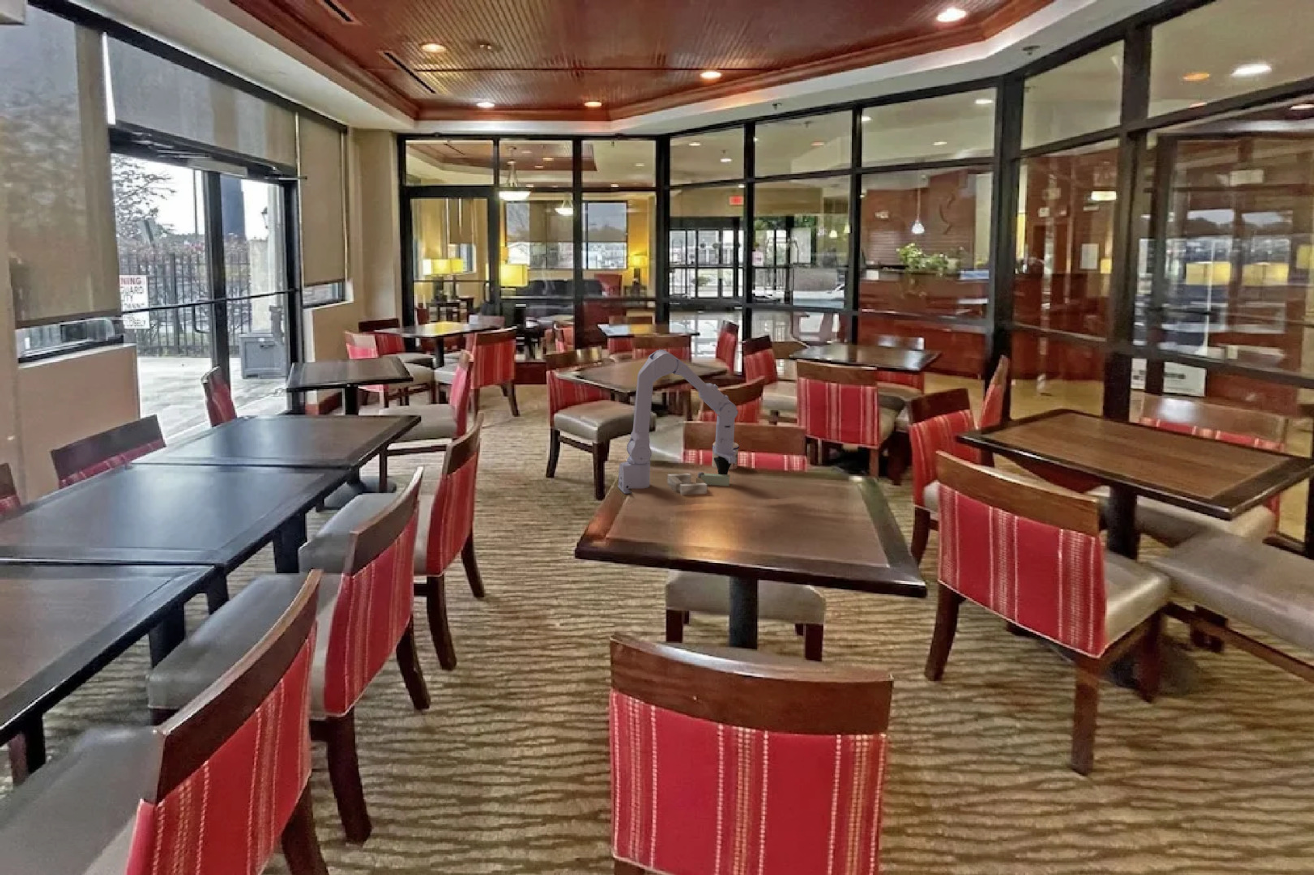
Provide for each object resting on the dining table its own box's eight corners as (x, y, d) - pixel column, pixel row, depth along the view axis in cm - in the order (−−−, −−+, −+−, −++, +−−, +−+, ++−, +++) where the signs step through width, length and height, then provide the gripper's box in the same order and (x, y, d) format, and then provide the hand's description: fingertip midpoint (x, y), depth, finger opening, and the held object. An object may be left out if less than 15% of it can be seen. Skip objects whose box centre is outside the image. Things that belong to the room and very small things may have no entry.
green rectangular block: (729, 485, 282) (729, 475, 281) (697, 484, 283) (698, 473, 282) (729, 483, 284) (729, 473, 283) (697, 482, 285) (698, 471, 284)
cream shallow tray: (678, 499, 271) (679, 486, 270) (664, 487, 284) (664, 474, 283) (722, 497, 275) (722, 483, 274) (706, 484, 288) (706, 472, 287)
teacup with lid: (738, 474, 302) (740, 440, 299) (711, 473, 302) (713, 439, 299) (736, 465, 313) (738, 432, 311) (710, 464, 313) (711, 431, 311)
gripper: (745, 442, 276) (743, 485, 280) (727, 432, 290) (725, 473, 293) (724, 443, 274) (722, 486, 277) (707, 433, 288) (705, 474, 291)
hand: (722, 479), depth 285 cm, fingers closed, pressing on green rectangular block
